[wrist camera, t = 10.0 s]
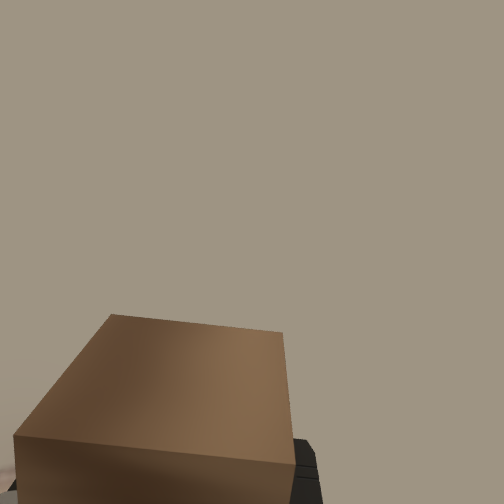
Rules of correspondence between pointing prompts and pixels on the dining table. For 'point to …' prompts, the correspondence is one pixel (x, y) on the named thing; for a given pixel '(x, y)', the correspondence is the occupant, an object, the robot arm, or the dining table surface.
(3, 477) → the dining table surface
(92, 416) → the walnut pillar
